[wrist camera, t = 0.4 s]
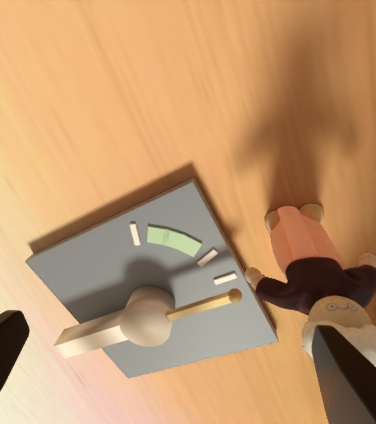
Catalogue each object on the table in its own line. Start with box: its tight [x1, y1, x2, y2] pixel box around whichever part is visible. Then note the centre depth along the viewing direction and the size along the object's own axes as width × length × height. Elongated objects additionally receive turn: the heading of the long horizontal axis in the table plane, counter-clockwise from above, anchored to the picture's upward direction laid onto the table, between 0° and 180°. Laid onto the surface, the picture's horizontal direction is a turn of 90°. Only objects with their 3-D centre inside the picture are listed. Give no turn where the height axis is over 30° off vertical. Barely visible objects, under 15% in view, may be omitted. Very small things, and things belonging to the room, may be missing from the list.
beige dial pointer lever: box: [53, 286, 242, 359], centre depth 24 cm, size 19×4×3 cm, turn 118°
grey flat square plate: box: [25, 177, 279, 378], centre depth 25 cm, size 18×18×1 cm
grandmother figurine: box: [245, 204, 376, 367], centre depth 15 cm, size 8×4×13 cm, turn 114°
